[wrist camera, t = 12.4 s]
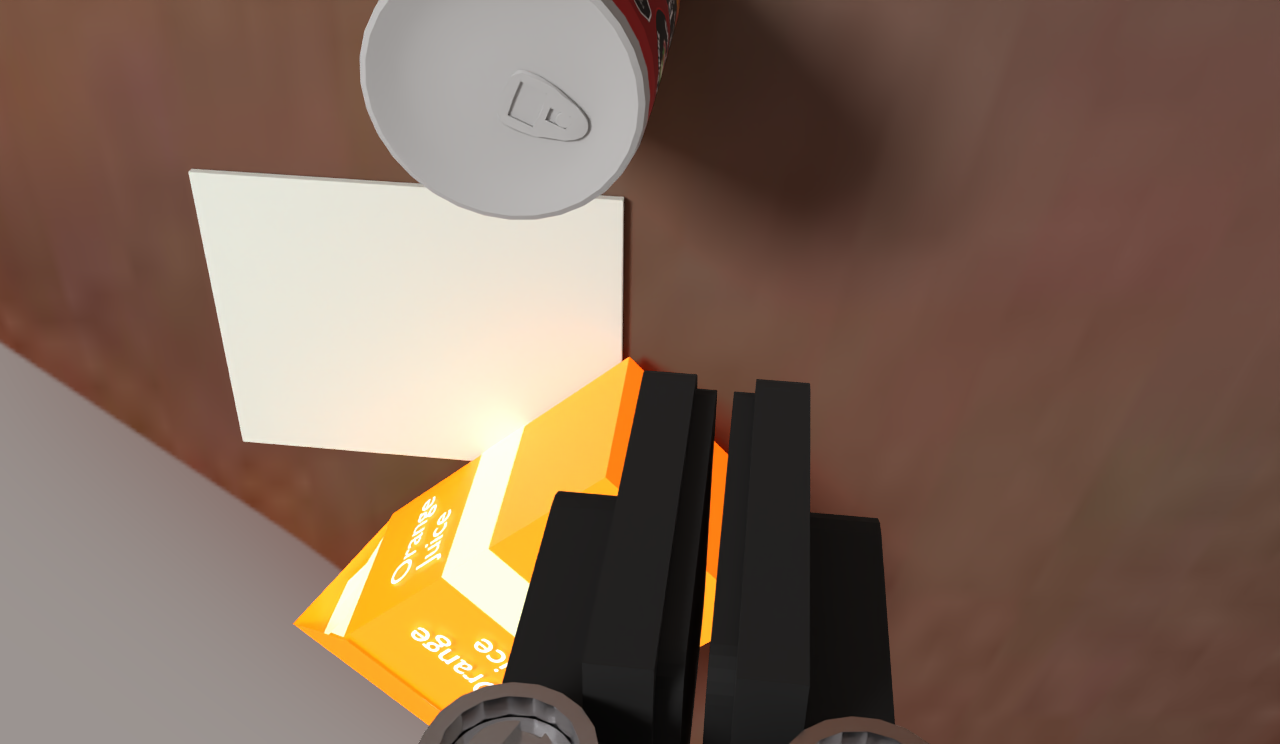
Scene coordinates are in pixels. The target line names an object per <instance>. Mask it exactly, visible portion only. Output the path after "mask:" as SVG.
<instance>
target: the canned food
mask: <svg viewBox="0 0 1280 744" xmlns="http://www.w3.org/2000/svg"><path fill="white" fill-rule="evenodd" d="M679 5H680V0H379V1H378V3H377V5H376V7H375V8H374V10H373V13H372V15H371V17H370V20H369V22H368V24H367V27H366V29H365V31H364V37H363V42H362V48H361V53H360V80H361V87H362V91H363V95H364V100H365V104H366V108H367V111H368V113H369V115H370V118H371V120H372V122H373V124H374V127H375V129H376V131H377V134H378V135H379V137H380V138H381V140H382V141H383V143H384V144H385V146H386V147H387V149H388V150H389V152H390V153H391V154H392V156H393V157H394V158H395V159H396V160H397V161H398V163H399V164H400V165H401V166H402V167H403V168H404V169H405V170H406V171H407V172H408V173H409V174H410V175H411V176H412V177H413V178H414V179H416V180H417V181H418V182H419V183H421V184H422V185H423V186H425V187H426V188H427V189H429V190H430V191H431V192H433V193H434V194H436V195H438V196H439V197H441V198H443V199H445V200H447V201H449V202H451V203H452V204H454V205H456V206H458V207H461V208H464V209H467V210H470V211H473V212H475V213H478V214H481V215H484V216H490V217H496V218H502V219H508V220H537V219H542V218H547V217H553V216H558V215H562V214H565V213H567V212H570V211H572V210H575V209H577V208H580V207H582V206H584V205H586V204H587V203H589V202H590V201H592V200H593V199H595V198H596V197H598V196H599V195H601V194H602V193H604V192H605V191H606V190H607V189H608V188H609V187H610V186H611V185H612V184H613V183H614V182H615V181H616V180H617V179H618V178H619V177H620V176H621V175H622V173H623V172H624V170H625V168H626V167H627V166H628V164H629V162H630V161H631V159H632V157H633V156H634V154H635V152H636V151H637V149H638V148H639V146H640V143H641V140H642V137H643V134H644V132H645V129H646V126H647V123H648V120H649V117H650V114H651V111H652V108H653V104H654V101H655V97H656V94H657V90H658V86H659V83H660V79H661V76H662V72H663V69H664V65H665V62H666V58H667V55H668V51H669V47H670V44H671V40H672V37H673V33H674V30H675V26H676V23H677V19H678V13H679Z"/></svg>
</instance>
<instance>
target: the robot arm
mask: <svg viewBox="0 0 1280 744" xmlns="http://www.w3.org/2000/svg"><path fill="white" fill-rule="evenodd" d="M716 404H717V390H707V389H697V374H684V373H671V372H658V371H644V372H643V376H642V380H641V385H640V390H639V395H638V399H637V404H636V409H635V414H634V418H633V423H632V428H631V433H630V437H629V442H628V447H627V452H626V456H625V461H624V466H623V471H622V476H621V480H620V485H619V490H618V495H617V496H614V495H603V494H591V493H580V492H568V491H558V492H557V493H556V494H555V496H554V499H553V502H552V505H551V508H550V512H549V516H548V519H547V523H546V526H545V530H544V534H543V537H542V541H541V544H540V548H539V552H538V555H537V559H536V562H535V566H534V570H533V573H532V577H531V580H530V584H529V588H528V591H527V595H526V598H525V602H524V605H523V609H522V613H521V616H520V620H519V623H518V627H517V631H516V634H515V638H514V641H513V645H512V649H511V652H510V656H509V659H508V663H507V667H506V670H505V674H504V677H503V681H502V684H496V685H489V686H484V687H482V688H479V689H477V690H474V691H472V692H469V693H467V694H464V695H462V696H460V697H459V698H457V699H456V700H455V701H453V702H452V703H451V704H449V705H448V706H447V707H445V708H444V709H442V710H441V711H440V712H439V713H438V715H437V716H436V717H435V719H434V720H433V721H432V723H431V724H430V725H429V727H428V728H427V729H426V731H425V732H424V734H423V736H422V738H421V740H420V742H419V743H418V744H690V737H691V727H692V717H693V708H694V698H695V688H696V679H697V669H698V660H699V650H700V640H701V631H702V621H703V610H704V598H705V584H706V567H707V551H708V535H709V518H710V502H711V486H712V469H713V453H714V436H715V420H716ZM703 744H929V743H927V742H926V741H924V740H923V739H921V738H920V737H918V736H917V735H915V734H914V733H912V732H910V731H909V730H907V729H905V728H903V727H900V726H897V725H895V719H894V705H893V691H892V677H891V664H890V650H889V636H888V622H887V608H886V594H885V580H884V566H883V552H882V538H881V528H880V522H879V520H878V518H867V517H856V516H844V515H833V514H821V513H810V383H800V382H787V381H774V380H761V379H756V389H755V393H745V392H734V398H733V409H732V419H731V430H730V440H729V451H728V462H727V472H726V483H725V493H724V504H723V515H722V525H721V536H720V546H719V557H718V567H717V578H716V589H715V599H714V610H713V620H712V631H711V642H710V653H709V664H708V676H707V689H706V703H705V718H704V734H703Z"/></svg>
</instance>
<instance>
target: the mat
mask: <svg viewBox="0 0 1280 744" xmlns="http://www.w3.org/2000/svg"><path fill="white" fill-rule="evenodd" d="M189 177H190V182H191V187H192V192H193V197H194V202H195V206H196V211H197V216H198V221H199V226H200V231H201V236H202V241H203V246H204V251H205V256H206V261H207V266H208V271H209V276H210V281H211V285H212V290H213V295H214V300H215V305H216V310H217V315H218V320H219V325H220V330H221V335H222V340H223V345H224V350H225V355H226V360H227V365H228V369H229V374H230V379H231V384H232V389H233V394H234V399H235V404H236V409H237V414H238V419H239V424H240V429H241V434H242V439H243V441H246V442H257V443H269V444H281V445H293V446H304V447H316V448H328V449H340V450H351V451H363V452H375V453H386V454H398V455H410V456H422V457H433V458H445V459H457V460H469V461H473V460H475V459H476V458H478V457H479V456H481V455H482V453H483V452H484V451H486V450H487V449H489V448H490V447H492V446H493V445H495V444H496V443H498V442H499V441H501V440H502V439H504V438H505V437H507V436H508V435H510V434H511V433H513V432H514V431H516V430H517V429H519V428H520V427H522V426H523V425H525V426H526V425H527V424H529V423H530V422H532V421H533V420H535V419H536V418H538V417H539V416H541V415H542V414H544V413H545V412H547V411H548V410H550V409H551V408H553V407H554V406H556V405H557V404H559V403H560V402H562V401H563V400H565V399H566V398H568V397H569V396H571V395H572V394H574V393H575V392H577V391H578V390H580V389H581V388H583V387H584V386H586V385H587V384H589V383H590V382H592V381H593V380H595V379H596V378H598V377H599V376H601V375H602V374H604V373H605V372H607V371H608V370H610V369H612V368H613V367H615V366H616V365H618V364H619V363H621V362H622V361H623V256H624V197H617V196H601V195H599V196H598V197H596V198H595V199H593V200H592V201H590V202H589V203H587V204H586V205H584V206H582V207H580V208H577V209H575V210H572V211H570V212H567V213H565V214H562V215H558V216H553V217H547V218H542V219H537V220H508V219H502V218H496V217H490V216H484V215H481V214H478V213H475V212H473V211H470V210H467V209H464V208H461V207H458V206H456V205H454V204H452V203H451V202H449V201H447V200H445V199H443V198H441V197H439V196H438V195H436V194H434V193H433V192H431V191H430V190H429V189H427V188H426V187H425V186H423V185H422V184H417V183H401V182H386V181H371V180H355V179H340V178H324V177H309V176H294V175H278V174H263V173H248V172H232V171H217V170H201V169H191V170H190V171H189Z"/></svg>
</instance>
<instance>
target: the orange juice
mask: <svg viewBox="0 0 1280 744" xmlns="http://www.w3.org/2000/svg"><path fill="white" fill-rule="evenodd" d="M643 372H644V371H643V370H642V369H641V368H640V367H639V366H638V365H637V364H636V363H635V362H634V361H633V360H632V359H631V358H630V357H628V358H627V359H625V360H624V361H622V362H621V363H619V364H618V365H616V366H615V367H613V368H612V369H610V370H608V371H607V372H605V373H604V374H602V375H601V376H599V377H598V378H596V379H595V380H593V381H592V382H590V383H589V384H587V385H586V386H584V387H583V388H581V389H580V390H578V391H577V392H575V393H574V394H572V395H571V396H569V397H568V398H566V399H565V400H563V401H562V402H560V403H559V404H557V405H556V406H554V407H553V408H551V409H550V410H548V411H547V412H545V413H544V414H542V415H541V416H539V417H538V418H536V419H535V420H533V421H532V422H530V423H529V424H527V425H526V426H525V425H523V426H522V427H520V428H519V429H517V430H516V431H514V432H513V433H511V434H510V435H508V436H507V437H505V438H504V439H502V440H501V441H499V442H498V443H496V444H495V445H493V446H492V447H490V448H489V449H487V450H486V451H484V452H483V453H482V455H481V456H479V457H478V458H476V459H475V460H473V461H472V462H470V463H469V464H467V465H466V466H464V467H463V468H461V469H460V470H458V471H457V472H455V473H454V474H452V475H451V476H449V477H448V478H446V479H445V480H443V481H442V482H440V483H438V484H437V485H435V486H434V487H432V488H431V489H429V490H428V491H426V492H425V493H423V494H422V495H420V496H419V497H417V498H416V499H414V500H413V501H411V502H410V503H408V504H407V505H405V506H404V507H402V508H401V509H399V510H398V511H396V512H395V513H393V514H392V517H391V519H390V520H389V522H388V523H387V524H386V525H385V526H384V527H383V528H382V529H381V530H380V531H379V532H378V533H377V534H376V535H375V537H374V538H373V539H372V540H371V541H370V542H369V543H368V544H367V545H366V546H365V547H364V548H363V549H362V551H361V552H360V553H359V554H358V555H357V556H356V557H355V558H354V559H353V560H352V561H351V562H350V563H349V564H348V566H347V567H346V568H345V569H344V570H343V571H342V572H341V573H340V574H339V575H338V576H337V577H336V578H335V579H334V581H333V582H332V583H331V584H330V585H329V586H328V587H327V588H326V589H325V590H324V591H323V592H322V594H320V596H319V597H318V598H317V599H316V600H315V601H314V602H313V603H312V604H311V605H310V606H309V607H308V608H307V610H306V611H305V612H304V613H303V614H302V615H301V616H300V617H299V618H298V619H297V620H296V621H295V622H294V625H295V626H297V627H298V628H300V629H301V630H302V631H303V632H305V633H306V634H308V635H309V636H310V637H311V638H313V639H314V640H316V641H317V642H318V643H320V644H321V645H322V646H324V647H325V648H326V649H328V650H329V651H330V652H332V653H333V654H334V655H336V656H337V657H338V658H340V659H341V660H342V661H344V662H345V663H346V664H348V665H349V666H350V667H352V668H353V669H354V670H356V671H357V672H358V673H360V674H361V675H362V676H364V677H365V678H367V679H368V680H369V681H370V682H372V683H373V684H374V685H376V686H377V687H378V688H380V689H381V690H382V691H384V692H385V693H386V694H388V695H389V696H390V697H392V698H393V699H394V700H396V701H397V702H398V703H400V704H401V705H402V706H404V707H405V708H406V709H408V710H409V711H410V712H412V713H413V714H414V715H416V716H417V717H418V718H420V719H421V720H422V721H424V722H425V723H426V724H428V725H430V724H431V723H432V721H433V720H434V719H435V717H436V716H437V715H438V713H439V712H440V711H441V710H442V709H444V708H445V707H447V706H448V705H449V704H451V703H452V702H453V701H455V700H456V699H457V698H459V697H460V696H462V695H464V694H467V693H469V692H472V691H474V690H477V689H479V688H482V687H484V686H489V685H496V684H502V681H503V677H504V674H505V670H506V667H507V663H508V659H509V656H510V652H511V649H512V645H513V641H514V638H515V634H516V631H517V627H518V623H519V620H520V616H521V613H522V609H523V605H524V602H525V598H526V595H527V591H528V588H529V584H530V580H531V577H532V573H533V570H534V566H535V562H536V559H537V555H538V552H539V548H540V544H541V541H542V537H543V534H544V530H545V526H546V523H547V519H548V516H549V512H550V508H551V505H552V502H553V499H554V496H555V494H556V493H557V492H558V491H568V492H580V493H591V494H603V495H614V496H617V495H618V490H619V485H620V480H621V476H622V471H623V466H624V461H625V456H626V452H627V447H628V442H629V437H630V433H631V428H632V423H633V418H634V414H635V409H636V404H637V399H638V395H639V390H640V385H641V380H642V376H643ZM727 462H728V454H727V453H726V452H725V451H724V450H723V449H722V448H721V447H720V446H719V445H718V444H717V443H716V442H715V441H714V453H713V469H712V486H711V502H710V518H709V535H708V551H707V567H706V584H705V598H704V610H703V621H702V631H701V640H700V646H702V645H704V644H706V643H708V642H710V641H711V631H712V620H713V610H714V599H715V589H716V578H717V567H718V557H719V546H720V536H721V525H722V515H723V504H724V493H725V483H726V472H727Z"/></svg>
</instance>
